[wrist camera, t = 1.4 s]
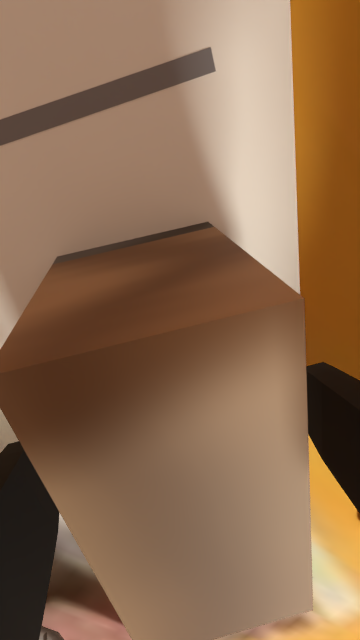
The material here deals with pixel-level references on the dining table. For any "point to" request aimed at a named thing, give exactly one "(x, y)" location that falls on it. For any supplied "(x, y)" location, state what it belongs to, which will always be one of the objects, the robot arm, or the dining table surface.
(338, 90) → the dining table surface
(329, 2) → the dining table surface
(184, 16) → the marked board
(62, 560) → the dining table surface
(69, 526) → the block
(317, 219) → the dining table surface
